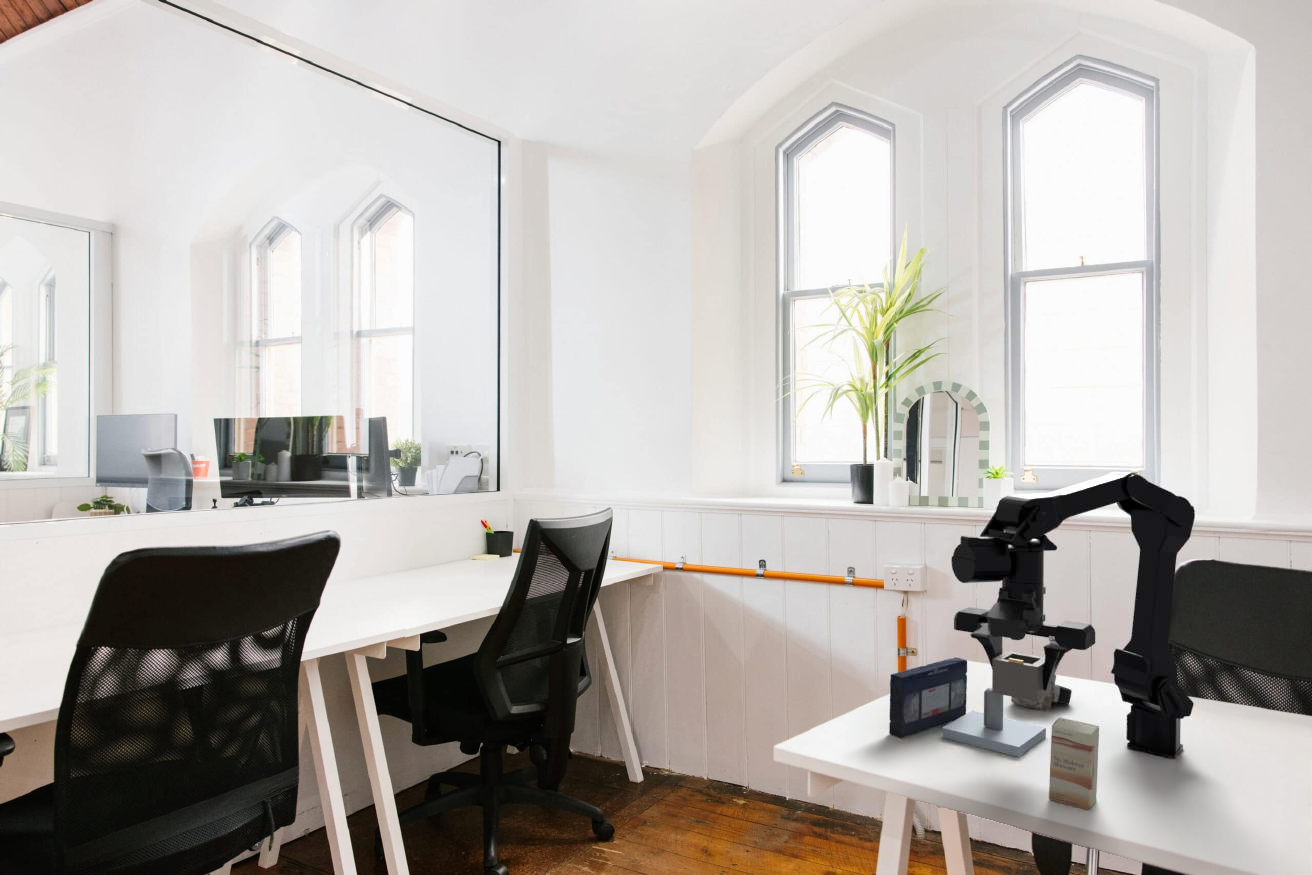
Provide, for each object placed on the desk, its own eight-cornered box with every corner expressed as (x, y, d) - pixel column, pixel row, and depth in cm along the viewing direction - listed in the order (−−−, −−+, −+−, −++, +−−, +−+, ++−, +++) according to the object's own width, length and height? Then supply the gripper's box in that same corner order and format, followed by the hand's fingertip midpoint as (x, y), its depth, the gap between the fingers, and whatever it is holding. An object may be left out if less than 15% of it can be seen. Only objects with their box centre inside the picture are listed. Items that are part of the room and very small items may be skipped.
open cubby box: (1051, 691, 125) (1051, 655, 125) (1037, 701, 120) (1037, 664, 120) (1007, 683, 130) (1007, 648, 130) (992, 692, 125) (992, 656, 125)
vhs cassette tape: (901, 739, 134) (901, 677, 134) (886, 733, 136) (886, 672, 136) (969, 718, 144) (970, 660, 144) (954, 713, 147) (955, 656, 147)
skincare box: (1047, 800, 111) (1048, 724, 111) (1056, 789, 115) (1057, 716, 115) (1090, 811, 108) (1092, 733, 108) (1098, 800, 112) (1099, 725, 112)
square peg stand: (1045, 736, 135) (1046, 690, 135) (1018, 756, 127) (1019, 707, 127) (972, 719, 144) (972, 675, 144) (942, 736, 135) (942, 690, 135)
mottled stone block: (1058, 710, 157) (1077, 720, 147) (996, 694, 159) (1011, 702, 149) (1064, 675, 158) (1084, 682, 148) (1003, 659, 160) (1018, 664, 150)
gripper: (939, 579, 125) (938, 684, 125) (1074, 596, 113) (1073, 712, 113) (968, 571, 134) (967, 669, 134) (1096, 585, 121) (1096, 693, 121)
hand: (1021, 685), depth 125 cm, fingers closed on open cubby box, 6 cm apart
